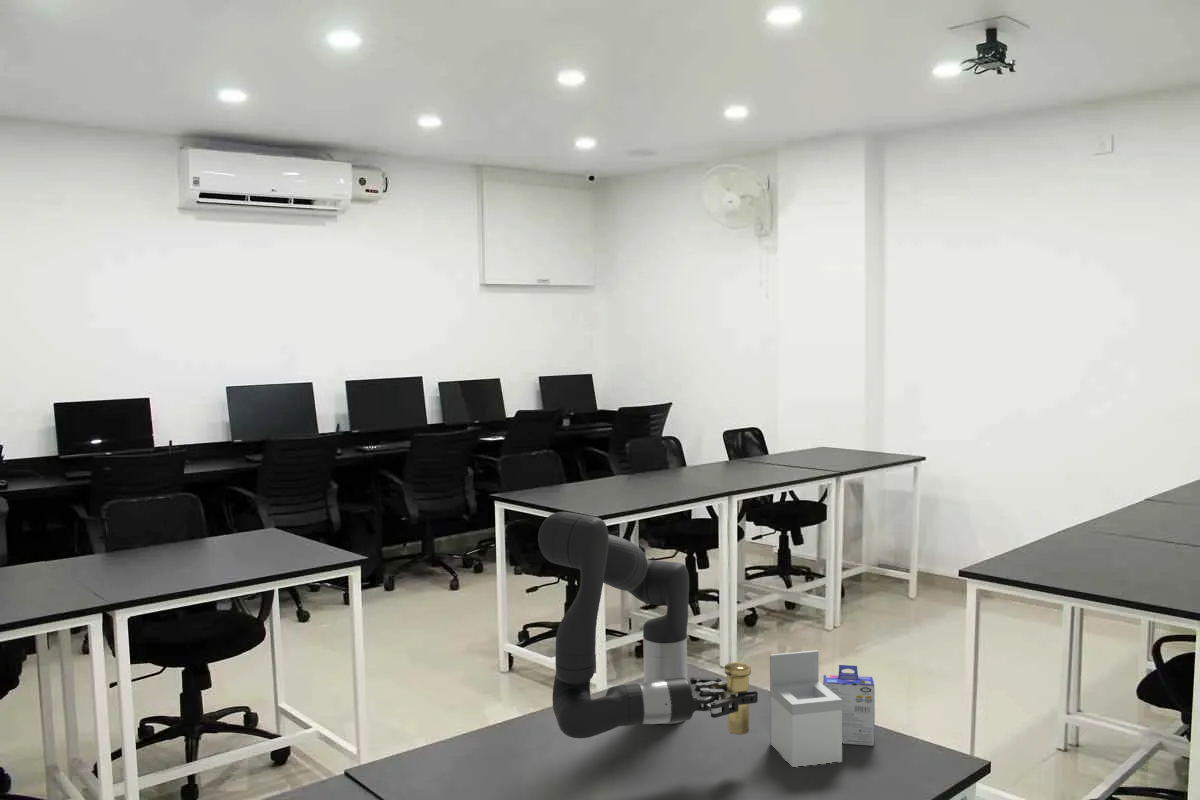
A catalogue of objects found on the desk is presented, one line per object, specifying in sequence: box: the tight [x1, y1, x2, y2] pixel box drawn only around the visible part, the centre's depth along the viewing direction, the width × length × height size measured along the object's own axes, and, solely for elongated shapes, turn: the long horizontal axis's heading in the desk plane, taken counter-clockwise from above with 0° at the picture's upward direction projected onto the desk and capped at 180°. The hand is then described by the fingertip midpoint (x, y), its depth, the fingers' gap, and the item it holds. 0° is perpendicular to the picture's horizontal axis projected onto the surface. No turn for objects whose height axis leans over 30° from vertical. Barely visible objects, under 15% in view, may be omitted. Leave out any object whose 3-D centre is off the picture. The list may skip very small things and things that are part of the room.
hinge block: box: [769, 649, 843, 768], centre depth 178 cm, size 11×10×18 cm
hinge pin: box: [724, 661, 752, 736], centre depth 172 cm, size 5×5×12 cm
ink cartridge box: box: [822, 664, 876, 747], centre depth 184 cm, size 10×6×14 cm, turn 78°
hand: (751, 691), depth 173 cm, fingers closed on hinge pin, 4 cm apart
